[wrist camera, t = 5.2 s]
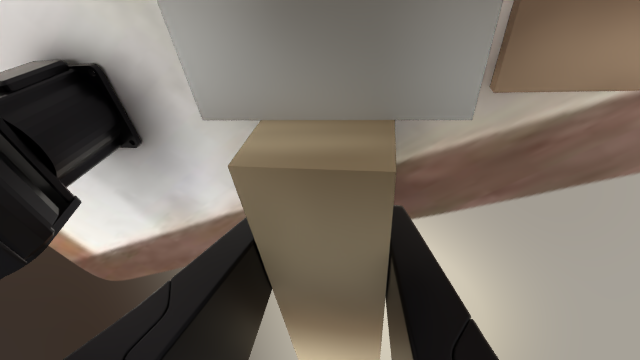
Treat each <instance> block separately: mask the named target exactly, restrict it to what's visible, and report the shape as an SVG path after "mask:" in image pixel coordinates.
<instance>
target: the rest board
mask: <svg viewBox="0 0 640 360" xmlns="http://www.w3.org/2000/svg"><path fill="white" fill-rule="evenodd" d="M490 88H491V89H492V91H493V92H494V93H507V92H571V91H635V90H640V0H514V3H513V7H512V10H511V14H510V17H509V21H508V24H507V28H506V31H505V35H504V39H503V42H502V46H501V49H500V53H499V56H498V60H497V63H496V67H495V71H494V74H493V78H492V81H491V85H490Z"/></svg>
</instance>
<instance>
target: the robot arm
mask: <svg viewBox="0 0 640 360" xmlns="http://www.w3.org/2000/svg"><path fill="white" fill-rule="evenodd" d="M93 71H94V72H95V73H94V72H93ZM139 145H141V140H140V138H139V136H138V134H137V133H136V131H135V129H134V127H133V125H132V124H131V122H130V120H129V118H128V116H127V115H126V113H125V111H124V109H123V107H122V105H121V104H120V102H119V100H118V98H117V96H116V95H115V93H114V91H113V89H112V87H111V86H110V84H109V82H108V80H107V78H106V77H105V75H104V73H103V71H102V70H101V68H100V67H99V66H97V65H96V64H71V65H68V64H67V63H66V62H64V61H62V60H51V61H33V62H30V63H27V64H24V65H21V66H18V67H15V68H12V69H9V70H6V71H3V72H0V279H2V278H3V277H5V276H7V275H9V274H11V273H13V272H15V271H17V270H19V269H21V268H22V267H24V266H25V265H27V264H28V263H30V262H31V261H32V260H34V259H35V258H36V257H37V256H38V255H40V254H41V253H42V252H43V251H44V250H45V249H46V248H47V246H48V245H49V244H50V243H51V241H52V240H53V239H54V237H55V236H56V235H57V234H58V232H59V231H60V230H61V228H62V227H63V226H64V225H65V223H66V222H67V221H68V219H69V218H70V217H71V216H72V214H73V213H74V212H75V210H76V209H77V208H78V207H79V205H80V204H81V201H80V200H79V198H78V197H77V196H74V195H73V194H72V193H71V192H70V191H69V190H68V189H67V187H68V186H69V185H71V184H72V183H73V182H75V181H76V180H77V179H79V178H80V177H81V176H82V175H84V174H85V173H86V172H88V171H89V170H90V169H92V168H93V167H94V166H96V165H97V164H98V163H100V162H101V161H102V160H104V159H105V158H106V157H107V156H109V155H110V154H111V153H113V152H114V151H115V150H117V149H118V148H137V147H138V146H139ZM271 291H272V286H271V283H270V281H269V278H268V275H267V272H266V270H265V267H264V264H263V261H262V259H261V256H260V253H259V250H258V248H257V245H256V242H255V239H254V237H253V234H252V231H251V229H250V226H249V223H248V220H247V218H244V219H243V220H242V221H241V222H240V223H238V224H237V225H236V226H235V227H234V228H232V229H231V230H230V231H229V232H227V233H226V234H225V235H224V236H223V237H221V238H220V239H219V240H218V241H216V242H215V243H214V244H213V245H212V246H210V247H209V248H208V249H207V250H206V251H204V252H203V253H202V254H201V255H199V256H198V257H197V258H196V259H195V260H193V261H192V262H191V263H190V264H189V265H187V266H186V267H185V268H184V269H182V270H181V271H180V272H179V273H178V274H176V275H175V276H174V277H173V278H172V279H171V281H168V282H167V283H165V284H164V285H163V286H162V287H161V288H159V289H158V290H157V291H156V292H154V293H153V294H152V295H151V296H149V297H148V298H147V299H146V300H144V301H143V302H142V303H140V304H139V305H138V306H137V307H135V308H134V309H133V310H131V311H130V312H128V313H127V314H126V315H124V316H123V317H122V318H120V319H119V320H118V321H116V322H115V323H114V324H112V325H111V326H109V327H108V328H107V329H105V330H104V331H102V332H101V333H100V334H99V335H97V336H95V337H94V338H93V339H91V340H90V341H88V342H87V343H86V344H84V345H83V346H81V347H80V348H79V349H77V350H76V351H74V352H73V353H71V354H70V355H69V356H67V357H66V358H64V359H63V360H248V359H249V357H250V354H251V351H252V347H253V345H254V341H255V339H256V336H257V333H258V330H259V326H260V324H261V321H262V318H263V315H264V311H265V309H266V306H267V303H268V299H269V297H270V294H271ZM385 297H386V307H387V317H388V327H389V336H390V347H391V357H392V360H499V359H498V357H497V356H496V354H495V353H494V351H493V350H492V348H491V347H490V345H489V344H488V342H487V341H486V339H485V338H484V336H483V334H482V333H481V331H480V329H479V328H478V326H477V325H476V323H475V322H474V320H473V319H471V315H470V314H469V312H468V310H467V309H466V307H465V306H464V304H463V302H462V301H461V299H460V297H459V296H458V294H457V293H456V291H455V289H454V288H453V286H452V285H451V283H450V281H449V280H448V278H447V277H446V275H445V273H444V272H443V270H442V268H441V267H440V266H439V264H438V262H437V260H436V259H435V257H434V256H433V254H432V252H431V251H430V249H429V247H428V246H427V245H426V243H425V241H424V239H423V238H422V236H421V235H420V233H419V231H418V230H417V228H416V226H415V225H414V223H413V222H412V220H411V218H410V217H409V215H408V214H407V212H406V210H405V209H404V207H403V206H399V205H393V215H392V227H391V238H390V250H389V261H388V272H387V284H386V295H385Z"/></svg>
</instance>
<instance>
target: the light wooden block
mask: <svg viewBox="0 0 640 360" xmlns="http://www.w3.org/2000/svg"><path fill="white" fill-rule="evenodd" d="M157 2H158V5H159V8H160V10H161V13H162V15H163V18H164V21H165V23H166V26H167V29H168V31H169V34H170V36H171V39H172V42H173V44H174V47H175V49H176V52H177V55H178V57H179V60H180V62H181V65H182V68H183V70H184V73H185V75H186V78H187V81H188V83H189V86H190V88H191V91H192V94H193V96H194V99H195V101H196V104H197V107H198V109H199V112H200V114H201V117H202V120H261V121H260V122H259V124H258V125H257V126H256V128H255V129H254V130H253V132H252V133H251V135H250V136H249V137H248V139H247V140H246V142H245V143H244V144H243V146H242V147H241V148H240V150H239V151H238V153H237V154H236V155H235V157H234V158H233V160H232V161H231V162H230V164H229V165H228V168H229V171H230V174H231V176H232V179H233V182H234V185H235V187H236V190H237V193H238V196H239V198H240V201H241V204H242V207H243V209H244V212H245V215H246V218H247V220H248V223H249V226H250V229H251V231H252V234H253V237H254V239H255V242H256V245H257V248H258V250H259V253H260V256H261V259H262V261H263V264H264V267H265V270H266V272H267V275H268V278H269V281H270V283H271V286H272V289H273V291H274V294H275V297H276V300H277V302H278V305H279V308H280V311H281V313H282V316H283V319H284V322H285V324H286V327H287V330H288V332H289V335H290V338H291V341H292V343H293V346H294V349H295V352H296V355H297V357H298V360H380V351H381V341H382V330H383V318H384V307H385V295H386V284H387V272H388V261H389V250H390V238H391V227H392V215H393V204H394V192H395V181H396V147H395V120H472V119H473V115H474V111H475V107H476V103H477V99H478V95H479V91H480V88H481V84H482V80H483V76H484V72H485V68H486V64H487V60H488V57H489V53H490V49H491V45H492V41H493V37H494V33H495V29H496V25H497V22H498V18H499V14H500V10H501V6H502V2H503V0H157Z"/></svg>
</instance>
